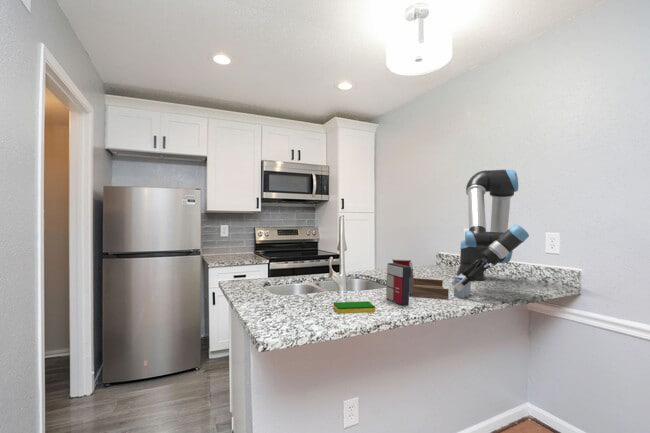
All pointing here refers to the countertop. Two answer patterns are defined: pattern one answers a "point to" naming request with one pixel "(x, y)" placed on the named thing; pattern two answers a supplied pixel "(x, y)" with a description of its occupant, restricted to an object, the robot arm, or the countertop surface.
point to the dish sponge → (353, 307)
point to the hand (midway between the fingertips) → (454, 286)
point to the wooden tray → (426, 287)
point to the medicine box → (462, 292)
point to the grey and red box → (398, 283)
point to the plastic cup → (402, 261)
